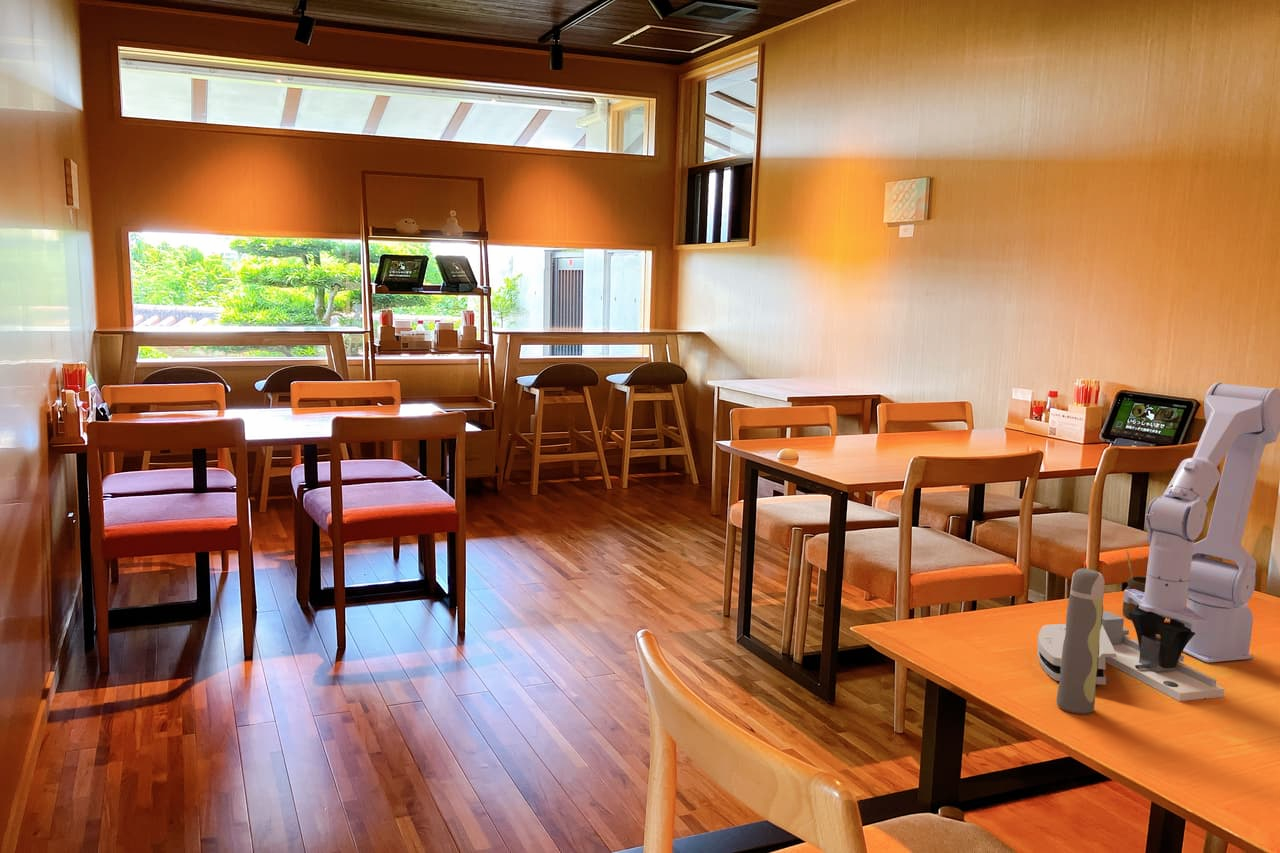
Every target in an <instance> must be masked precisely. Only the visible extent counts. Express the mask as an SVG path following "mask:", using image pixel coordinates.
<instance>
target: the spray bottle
mask: <svg viewBox="0 0 1280 853" xmlns="http://www.w3.org/2000/svg"><path fill="white" fill-rule="evenodd" d="M1105 582H1106V581H1105V577H1104V576H1103V574H1102V573H1101V572H1098V571H1097V570H1094V569H1090V568H1083V567H1082V568H1078V569H1076V570H1075V571H1074V572H1073V573H1072V577H1071V585H1070V590H1069V591H1070V592H1069V597H1068V601H1067V610H1066V616H1065V617H1066V619H1065V622H1066V623H1065V624H1066V633H1065V639H1064V643H1063V650H1062V658H1061V672H1060V681H1058V682H1059V683H1058V686H1057V695H1056V704H1057V707H1059V708H1060V709H1062V710H1063V711H1065V712H1067V713H1068V712H1069V713H1072V714H1074V715H1075V714H1077V715H1088V714H1091V713H1092V712H1094V709H1095V701H1096V685H1097V684H1096V676H1097V671H1098V661H1099V639H1100V630H1101V626H1102V617H1103V612H1104V603H1103V602H1104V595H1105V584H1106V583H1105Z"/></svg>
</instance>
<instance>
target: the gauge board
mask: <svg viewBox="0 0 1280 853" xmlns="http://www.w3.org/2000/svg"><path fill="white" fill-rule="evenodd" d="M1124 622H1125V618H1123V617H1121V616H1120V615H1117V614H1115V613H1112V612H1111V611H1109V610H1108V611H1103V617H1102V625H1103V627H1104V629H1105V631H1106V633H1107V635H1108V638H1109V640H1110V642H1111V644H1112V646H1113V648H1114V650H1115V652H1116V657H1105V664H1106V663H1107V664H1108V665H1110V666H1112V667H1114V668H1116V669H1117V670H1120V671H1121V672H1123V673H1126V674H1127V675H1129V676H1131V677H1133V678H1135V679H1136V680H1138V681H1140V682H1142V683H1144V684H1146V685H1148V686H1150V687H1152V688H1154V689H1155V690H1157V691H1159V692H1161V693H1163V694H1164V695H1167V696H1169V698H1170V697H1171V698H1172V699H1174V700H1176V701H1178V702H1184V701H1195V700H1204V698H1206V699H1214V698H1223V697H1224V696H1225V692H1226V691H1225V688H1224V687H1221V686H1220V685H1217V679H1215V678H1213V677H1211V676H1209V675H1207V674H1205V673H1203V672H1201V671H1199V670H1198V669H1195V668H1192V667H1190V666H1188V665H1187V664H1184V663H1183V662H1177V666H1176V670H1170V671H1159V672H1156V671H1154V670H1152V669H1150V668H1146V669H1137V668H1135V665H1142V664H1140V663H1139V656H1140V649H1139V643H1138V640H1135V639H1133V638H1131V637H1129V634H1130V631H1129V629H1127V628H1125V627H1124Z"/></svg>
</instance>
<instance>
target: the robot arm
mask: <svg viewBox="0 0 1280 853" xmlns="http://www.w3.org/2000/svg"><path fill="white" fill-rule="evenodd" d="M1203 402H1204V403H1203V408H1204V411H1203V412H1204V417H1205V423H1206V424H1205V426H1204V429H1203V431H1202V433H1201V436H1200V438H1199V441H1198V444H1197V446H1196V448H1195V450H1194V453H1193V455H1192V457H1188V458H1185V459H1183V460H1181V462H1180V463H1179V465H1178V467H1177V468H1176V470H1175V472H1174V474H1173V477H1172V478H1171V480H1170V482H1169V483H1168V485H1167V487H1166V489H1165V491H1164V492H1163V494H1162V495H1160V496H1159V497H1155V498H1153V499H1152V500H1151V501H1150V503H1149V504H1148V506H1147V510H1146V514H1145V517H1144V519H1145V520H1144V521H1145V528H1146V532H1147V533H1146V535H1147V536H1146V540H1147V541H1146V543H1147V544H1149V551H1148V560H1147V568H1146V569H1147V570H1146V575H1145V577H1146V585H1145V593H1144V592H1141V591H1138V590H1136V589H1129V590H1125V589H1124V590H1123V591H1124V593H1123V601H1124V602H1126V603H1133V604H1135V605H1137V608H1136V609H1135V610H1130V611H1129V616H1130V618H1131V619H1130V621H1131V622H1132V624H1133V627H1134V630H1135V634H1136V637H1137V642H1138V643H1139V649H1140V648H1141V639H1142V635H1153V634H1155V632H1160V636H1161V667H1163V668H1165V669H1166V668H1175V667H1176V665H1177V662H1178V660H1179V658H1180V655H1182V653H1185V654H1188V655H1189V656H1192V657H1194V658H1196V659H1199V660H1200V661H1202V662H1204V663H1218V662H1220V663H1221V662H1228V661H1238V660H1239V661H1240V660H1251V659H1253V658H1254V654H1253V655H1252V654H1250V647H1251V640H1252V632H1253V625H1254V624H1253V623H1254V617H1253V612H1252V610H1251V608H1250V607H1249V605H1248V604H1247V603H1249V601H1250V600H1251V598H1252V597H1253V594H1254V591H1255V589H1256V588H1255V587H1256V572H1257V562H1256V560H1255V558H1254V557H1253V556H1252V554H1251V553H1250V552H1248V550H1246V548H1245V547H1244V546H1243V545H1242V540H1243V536H1244V534H1245V529H1246V524H1247V520H1248V515H1249V512H1250V507H1251V505H1252V504H1251V503H1252V498H1253V494H1254V491H1255V486H1256V483H1257V477H1258V475H1259V469H1260V467H1261V466H1260V465H1261V461H1262V457H1263V453H1264V451H1265V449H1266V446H1267V445H1270V444H1272V443H1276V442H1277V441H1278V436H1279V434H1280V388H1277V387H1272V388H1268V387H1258V386H1248V385H1239V384H1238V385H1237V384H1227V383H1222V382H1218V381H1217V382H1215V383H1213V384H1212V385H1211V386H1210V387H1208V390H1207V391H1206V394H1205V397H1204V401H1203ZM1224 458H1225V459H1224ZM1223 459H1224V464H1223V467H1222V472H1221V473H1220V471H1219V469H1218V466H1219V464H1221V462H1222V460H1223ZM1218 484H1219V485H1218ZM1217 485H1218V488H1217V492H1216V497H1215V499H1214V505H1213V510H1212V514H1211V517H1210V521H1209V525H1208V530H1207V534H1206V537H1205V538H1203V539H1201V540H1199V541H1197V542H1195V540H1197V539H1198V538H1199V536H1200V534H1201V533H1202V532H1203V529H1204V525H1205V521H1206V520H1205V519H1206V517H1207V516H1206V515H1207V513H1208V510H1209V509H1208V507H1207V504H1208V502H1209V500H1210V498H1211V497H1212V494H1213V493H1214V490H1215V488H1216V487H1217ZM1208 557H1212V558H1218V559H1222V560H1227V561H1231V562H1233V563H1229V562H1225V561H1220V560H1216V559H1212V558H1208ZM1234 563H1235V564H1234ZM1165 620H1169V622H1168V621H1165Z"/></svg>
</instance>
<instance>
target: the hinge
mask: <svg viewBox="0 0 1280 853" xmlns="http://www.w3.org/2000/svg"><path fill="white" fill-rule="evenodd" d="M1065 633H1066V623H1058V624H1055V623H1054V624H1044V625H1043V626H1042V627H1041V628H1040V630H1039V631H1038V636H1037V642H1036V644H1037V658H1038V660H1039V663H1040V666H1041V668H1042V670H1044V671H1043V672H1045V673H1046V674H1047V675H1048V676H1049V677H1050V678H1051V679H1053V680H1054V681H1056V682H1060V672H1061V658H1062V650H1063V643H1064V639H1065ZM1105 657H1116V652H1115V650H1114V648H1113V646H1112V644H1111V642H1110V640H1109V638H1108V635H1107V633H1106V631H1105V629H1104V627H1103V625H1102V626H1101V630H1100V639H1099V661H1098V671H1097V676H1096V685H1103V686H1104V685H1105V686H1106V685H1107V677H1106V675H1105V671H1104V670H1107V669H1106V666H1107V665H1106V662H1105Z"/></svg>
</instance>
